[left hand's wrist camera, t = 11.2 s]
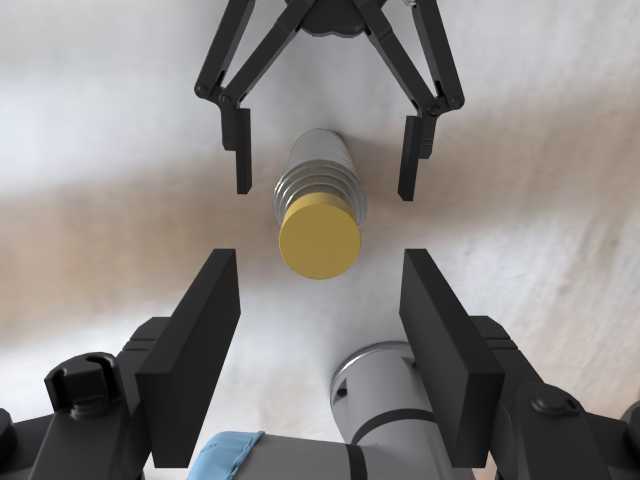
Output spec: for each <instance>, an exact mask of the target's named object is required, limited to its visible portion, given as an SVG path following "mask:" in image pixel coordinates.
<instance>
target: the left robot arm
mask: <svg viewBox="0 0 640 480" xmlns="http://www.w3.org/2000/svg"><path fill="white" fill-rule="evenodd" d="M240 315H241V310H240V298H239V287H238V275H237V264H236V252H235V249H214V250H213V251H212V253H211V254H210V256H209V258H208V259H207V261H206V262H205V264H204V265H203V267H202V269H201V270H200V272H199V273H198V275H197V276H196V278H195V280H194V281H193V283H192V284H191V286H190V287H189V289H188V290H187V292H186V294H185V295H184V297H183V298H182V300H181V301H180V303H179V305H178V306H177V308H176V309H175V311H174V312H173V314H172V315H171V317H152V318H151V319H149V320H148V321H147V322H145V323H144V324H142V325H141V326H139V327H138V328H137V330H136V331H135V332H134V334H133V335H132V336H131V338H130V341H128V342H127V343H126V345H125V346H124V347H123V349H122V351H120V353H119V354H118V355H117V357H114V356H113V355H112V354H109V353H104V352H92V353H86V354H82V355H79V356H75V357H73V358H71V359H69V360H66V361H64V362H62V363H61V364H59V365H58V366H57V367H55V368H54V369H53V370H51V371H50V372H49V374H48V375H47V376H46V378H45V379H44V382H45V385H46V388H47V391H48V394H49V397H50V400H51V403H52V406H53V409H54V414H50V415H47V416H43V417H39V418H35V419H30V420H26V421H22V422H17V423H13V421H12V419H11V416H10V414H9V413H8V412H7V411H6V410H4V409H3V408H0V480H145V476H144V471H143V468H144V465H145V463H146V461H147V459H148V457H149V455H150V452H152V457H153V461H154V466H155V468H188V466H189V463H190V460H191V457H192V454H193V451H194V448H195V446H196V443H197V440H198V437H199V434H200V431H201V428H202V425H203V422H204V419H205V416H206V414H207V411H208V408H209V405H210V402H211V399H212V396H213V393H214V390H215V387H216V384H217V382H218V379H219V376H220V373H221V370H222V367H223V364H224V361H225V358H226V355H227V352H228V350H229V347H230V344H231V341H232V338H233V335H234V332H235V329H236V326H237V323H238V320H239V318H240ZM399 315H400V318H401V320H402V323H403V326H404V329H405V332H406V335H407V338H408V341H409V343H407V342H383V343H378V344H374V345H371V346H368V347H365V348H363V349H361V350H359V351H357V352H356V353H354V354H353V355H351V356H350V357H349V358H347V359H346V360H345V361H344V362H343V363H342V364H341V366H340V367H339V368H338V370H337V371H336V373H335V375H334V377H333V379H332V383H331V388H330V403H331V410H332V413H333V417H334V420H335V422H336V424H337V426H338V429H339V431H340V433H341V435H342V437H343V439H344V441H345V444H344V443H337V442H328V441H318V440H308V439H300V438H292V437H284V436H276V435H268V434H265V431H259V432H257V433H249V432H232V431H227V432H221V433H219V434H217V435H215V436H214V437H212V438H211V439H210V440H209V441H208V442H207V443H206V445H205V446H204V447H203V449H202V450H201V452H200V454H199V455H198V457H197V459H196V461H195V463H194V465H193V467H192V469H191V471H190V473H189V476H188V478H187V480H476V479H475V476H474V474H473V471H472V469H471V468H485V466H486V461H487V457H488V452H489V450H490V453H491V455H492V457H493V459H494V461H495V463H496V466H497V471H496V476H495V480H640V407H637V408H635V409H634V410H633V411H632V412H631V414H630V416H629V419H628V421H627V422H625V421H621V420H617V419H613V418H608V417H604V416H600V415H595V414H592V413H588V412H586V411H585V410H584V408H583V407H582V405H581V404H580V402H579V401H577V400H576V399H575V398H574V397H573V396H571V395H570V394H569V393H567V392H565V391H563V390H562V389H560V388H558V387H555V386H552V385H549V384H546V383H544V382H543V380H542V379H541V378H540V376H539V375H538V374H537V372H536V371H535V370H534V368H533V367H532V366H531V364H530V363H529V362H528V360H527V359H526V358H525V356H524V355H523V354H522V352H521V351H520V350H518V347H517V346H516V344H515V343H514V342H513V340H511V338H510V336H509V335H508V334H507V332H506V331H505V330H504V328H503V327H502V326H501V325H500V324H498V323H497V322H495V321H494V320H493V319H491V318H490V317H488V316H469V315H468V314H467V312H466V311H465V309H464V308H463V306H462V305H461V303H460V301H459V300H458V298H457V297H456V295H455V294H454V292H453V290H452V289H451V287H450V286H449V284H448V283H447V281H446V280H445V278H444V276H443V275H442V273H441V272H440V270H439V269H438V267H437V265H436V264H435V262H434V261H433V259H432V258H431V256H430V254H429V253H428V251H427V250H426V249H405V252H404V264H403V275H402V287H401V298H400V310H399Z"/></svg>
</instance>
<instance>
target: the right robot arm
mask: <svg viewBox="0 0 640 480" xmlns="http://www.w3.org/2000/svg"><path fill="white" fill-rule="evenodd" d="M386 1H387V0H285V2H286V3H287V5H288V6H287V8H286V9H285V10H284V12H283V13H282V14H281V15H280V17H279V18H278V19H277V21H276V22H275V24H274V26H273V28H272V29H271V30H270V32H269V33H268V34H267V35H266V37H265V38H264V39H263V41H262V42H261V43H260V44H259V46H258V47H257V48H256V50H255V51H254V52H253V53H252V55H251V56H250V57H249V59H248V60H247V61H246V62H245V64H244V65H243V66H242V68H241V69H240V70H239V71H238V73H237V74H236V75H235V77H234V78H233V79H232V81H231V82H230V83H229V84H228V86H227V87H226V88H224V87H221V84H222V82H223V80H224V77H225V75H226V73H227V70H228V68H229V66H230V63H231V61H232V59H233V56H234V54H235V51H236V49H237V47H238V44H239V42H240V40H241V37H242V35H243V33H244V30H245V28H246V26H247V23H248V21H249V19H250V16H251V14H252V11H253V9H254V5H255V0H229V3H228V5H227V7H226V10H225V12H224V15H223V17H222V20H221V22H220V25H219V27H218V30H217V32H216V35H215V37H214V40H213V42H212V45H211V47H210V49H209V52H208V54H207V57H206V59H205V62H204V64H203V67H202V69H201V72H200V74H199V77H198V79H197V82H196V84H195V87H194V91H195V94H196V95H197V96H198V97H199V98H202V99H203V98H204V99H206V100H208V101H211V102H213V103H215V104H216V105H218V107H219V108H220V110H221V123H222V143H223V146H224V148H225V150H226V151H236V171H237V194H247V193H248V192H249V190H250V189H251V187H252V168H251V124H250V109H247V108H240V105H241V104H240V103H241V102H242V101H243V99H244V98H245V97H246V96H247V94H248V93H249V92H250V91H251V89H252V88H253V87H254V86H255V84H256V83H257V82H258V81H259V79H260V78H261V77H262V76H263V74H264V73H265V72H266V71H267V69H268V68H269V67H270V66H271V64H272V63H273V62H274V61H275V59H276V58H277V57H278V56H279V54H280V53H281V52H282V51H283V49H284V48H285V47H286V46H287V44H288V43H289V42H290V41H291V40H292V39H293V38H294V37H295V36H296V34H297V33H298V32H299V31H300V29H301V28H302V29H303V30H304V31H305V32H306V33H308V34H310V35H312V36H314V37H323V36H327V35H331V34H333V35H336V36H339V37H342V38H353V37H355V36H358V35H360V34H361V33H362V32H364V33H365V34H366V36H367V37H368V39H369V40H370V42H371V43H372V44H373V45H374V46H375V48H376V49H377V51H378V52H379V54H380V55H381V57H382V58H383V60H384V61H385V63H386V65H387V66H388V68H389V69H390V71H391V72H392V74H393V75H394V77H395V78H396V80H397V81H398V83H399V84H400V86H401V88H402V89H403V91H404V92H405V94H406V95H407V97H408V98H409V100H410V101H411V103H412V104H413V106H414V107H415V109H416V110H417V116H407V117H406V125H405V134H404V142H403V151H402V159H401V168H400V176H399V184H398V194H399V195H400V197H401V198H402V199H403V201H413V195H414V188H415V180H416V173H417V166H418V159H428V158H429V157H430V155H431V153H432V145H433V139H434V132H435V126H436V121H437V118H438V117H439V116H440V115H441V114H443V113H446V112H449V111H452V110H458V109H460V108H462V106H463V105H464V102H465V98H464V95H463V91H462V88H461V84H460V81H459V78H458V74H457V71H456V67H455V64H454V60H453V57H452V54H451V50H450V47H449V43H448V40H447V37H446V33H445V30H444V26H443V23H442V19H441V16H440V13H439V9H438V6H437V2H436V0H403V2H404V4H405V5H406V6H410V7H412V14H413V19H414V23H415V26H416V29H417V32H418V35H419V38H420V42H421V45H422V48H423V51H424V54H425V57H426V61H427V64H428V67H429V70H430V73H431V76H432V80H433V83H434V86H435V89H436V92H437V95H438V96H436V97H434V96H433V95H432V93H431V91H430V90H429V88H428V87H427V85H426V84H425V82H424V80H423V79H422V77H421V76H420V74H419V72H418V71H417V69H416V68H415V66H414V64H413V63H412V61H411V60H410V58H409V57H408V55H407V53H406V52H405V50H404V49H403V47H402V45H401V44H400V42H399V41H398V39H397V37H396V36H395V34H394V33H393V30H392V27H391V25H390V23H389V22H388V20H387V19H386V17H385V16H384V14H383V12H382V11H381V8H382V7H383V5H384V4H385V3H386Z"/></svg>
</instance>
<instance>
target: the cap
mask: <svg viewBox="0 0 640 480" xmlns="http://www.w3.org/2000/svg"><path fill="white" fill-rule="evenodd" d="M279 247H280V251H281V254H282V256H283V259H284V260H285V262H286V263H287V264H288V266H289V267H290V268H291V269H293V270H294V271H295V272H297V273H298V274H300V275H302V276H304V277H307V278H311V279H329V278H333V277H336V276H338V275H340V274H342V273H343V272H345V271H346V270H348V269H349V268H350V267H351V266H352V265H353V263H354V262H355V260H356V259H357V257H358V254H359V251H360V247H361V235H360V231H359V227H358V224H357V220H356V217H355V214H354V212H353V210H352V209H351V207H350V206H349V205H348V204H347V203H346V202H345V201H344V200H342V199H341V198H339V197H337V196H335V195H333V194H329V193H323V192H317V193H311V194H307V195H305V196H303V197H301V198H299V199H298V200H296V201H295V202H294V203H293V204H292V205H291V206H290V207H289V209H288V210H287V212H286V214H285V217H284V220H283V224H282V228H281V232H280V236H279Z"/></svg>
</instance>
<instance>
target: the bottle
mask: <svg viewBox="0 0 640 480" xmlns="http://www.w3.org/2000/svg"><path fill="white" fill-rule="evenodd" d="M317 192H323V193H329V194H333V195H335V196H337V197H339V198H341V199H342V200H344V201H345V202H346V203H347V204H348V205H349V206H350V207H351V209H352V210H353V212H354V214H355V217H356V220H357V224H358V227H359V229H360V228H361V226H362V224H363V222H364V220H365V217H366V212H367V197H366V192H365V190H364V187H363V184H362V182H361V180H360V177H359V175H358V173H357V170H356V168H355V165H354V163H353V161H352V158H351V156H350V154H349V151H348V149H347V146H346V144H345V142H344V141H343V140H342V138H341V137H340V136H339V135H337V134H336V133H334V132H332V131H330V130H327V129H313V130H310V131H308V132H306V133H304V134H303V135H301V136H300V137H299V138H298V140H297V141H296V143H295V144H294V146H293V149H292V151H291V154H290V156H289V158H288V161H287V163H286V166H285V168H284V170H283V173H282V175H281V177H280V180H279V182H278V185H277V187H276V190H275V193H274V197H273V212H274V216H275V220H276V222H277V224H278V226H279V228H280V229H281V228H282V224H283V220H284V217H285V214H286V212H287V210H288V209H289V207H290V206H291V205H292V204H293V203H294V202H295V201H296V200H298V199H299V198H301V197H303V196H305V195H307V194H311V193H317Z"/></svg>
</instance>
